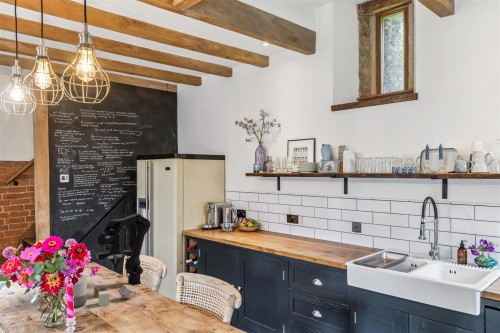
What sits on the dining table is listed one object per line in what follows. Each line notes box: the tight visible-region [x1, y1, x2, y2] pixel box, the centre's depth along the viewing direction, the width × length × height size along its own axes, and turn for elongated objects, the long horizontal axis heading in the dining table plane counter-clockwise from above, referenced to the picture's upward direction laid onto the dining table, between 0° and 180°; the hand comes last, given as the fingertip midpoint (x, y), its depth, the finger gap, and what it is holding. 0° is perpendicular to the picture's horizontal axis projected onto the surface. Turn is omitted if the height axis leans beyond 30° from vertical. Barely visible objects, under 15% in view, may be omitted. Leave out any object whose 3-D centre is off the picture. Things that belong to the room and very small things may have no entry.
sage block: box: [98, 290, 110, 307], centre depth 199 cm, size 5×5×6 cm
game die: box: [118, 283, 135, 301], centre depth 207 cm, size 9×8×10 cm
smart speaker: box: [73, 275, 88, 308], centre depth 196 cm, size 10×9×14 cm
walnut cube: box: [93, 284, 108, 299], centre depth 211 cm, size 5×5×5 cm
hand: (114, 269), depth 218 cm, fingers closed
